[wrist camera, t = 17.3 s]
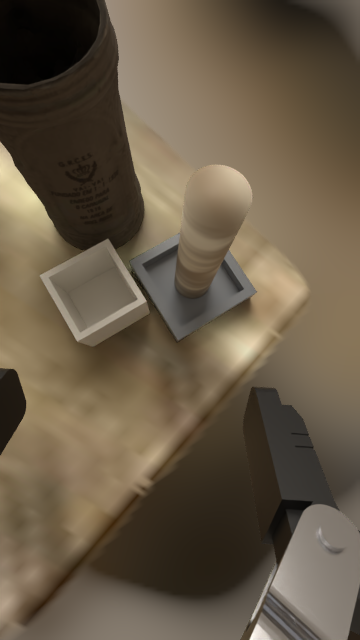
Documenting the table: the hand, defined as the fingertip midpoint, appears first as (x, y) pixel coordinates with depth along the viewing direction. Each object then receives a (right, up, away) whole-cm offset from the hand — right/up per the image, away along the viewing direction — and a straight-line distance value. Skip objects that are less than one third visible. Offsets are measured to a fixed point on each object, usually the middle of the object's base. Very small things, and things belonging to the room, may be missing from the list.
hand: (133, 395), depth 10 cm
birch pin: (+3, +7, +23) cm, 24 cm away
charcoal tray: (+3, +7, +24) cm, 25 cm away
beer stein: (-9, +18, +25) cm, 32 cm away
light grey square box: (-7, +4, +23) cm, 24 cm away
